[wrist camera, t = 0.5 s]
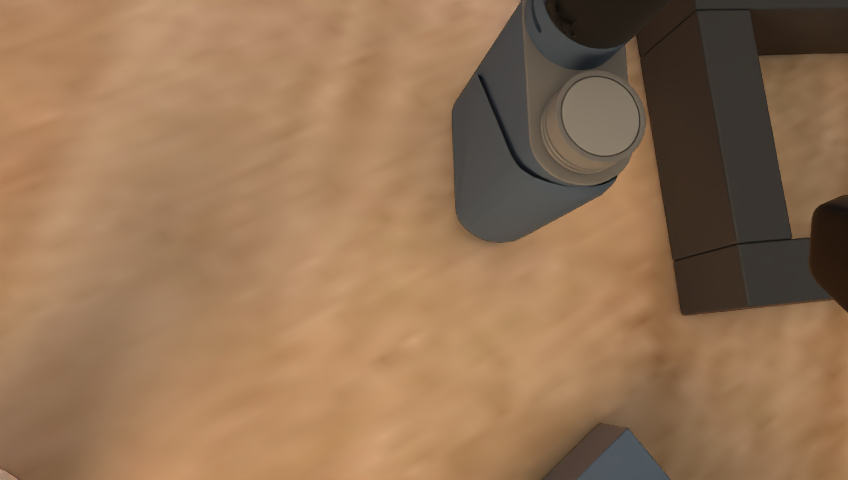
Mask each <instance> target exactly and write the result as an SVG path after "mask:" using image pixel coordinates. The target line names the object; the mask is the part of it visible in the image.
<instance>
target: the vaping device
mask: <svg viewBox="0 0 848 480" xmlns="http://www.w3.org/2000/svg"><path fill="white" fill-rule="evenodd" d="M671 1H672V0H522V1H521V2H520V4H519V5H518V7H517V8H516V10H515V12H514V13H513V15H512V16H511V18H510V19H509V21H508V22H507V24H506V25H505V27H504V28H503V30H502V31H501V33H500V34H499V36H498V38H497V39H496V41H495V42H494V44H493V45H492V47H491V48H490V50H489V51H488V53H487V54H486V56H485V57H484V59H483V61H482V62H481V64H480V65H479V67H478V68H477V70H476V71H475V73H474V74H473V76H472V77H471V79H470V80H469V82H468V84H467V85H466V87H465V88H464V90H463V91H462V93H461V94H460V96H459V97H458V99H457V100H456V102H455V104H454V106H453V110H452V130H453V155H454V180H455V205H456V213H457V216H458V219H459V221H460V222H461V224H462V225H463V226H464V227H465V228H466V229H467V230H468V231H469V232H471V233H472V234H474V235H475V236H476V237H479V238H481V239H483V240H486V241H491V242H498V243H503V242H510V241H515V240H517V239H520V238H522V237H524V236H526V235H528V234H530V233H532V232H533V231H535V230H537V229H539V228H541V227H543V226H545V225H546V224H548V223H550V222H552V221H554V220H556V219H558V218H559V217H561V216H563V215H565V214H567V213H569V212H571V211H572V210H574V209H576V208H578V207H580V206H582V205H584V204H585V203H587V202H589V201H591V200H593V199H595V198H597V197H598V196H600V195H602V194H603V193H604V192H605V191H606V190H607V189H608V188H609V187H610V186H611V185H612V184H613V183H614V182H615V180H616V178H617V176H618V174H619V173H620V172H621V171H622V170H623V169H624V168H625V167H626V165H627V164H628V162H629V160H630V158H631V155H632V152H633V151H634V150H635V149H636V148H637V147H638V145H639V144H640V142H641V140H642V138H643V135H644V132H645V126H646V117H645V111H644V107H643V104H642V102H641V100H640V98H639V96H638V94H637V93H636V91H635V90H634V89H633V88H632V87H631V86H630V85H629V84H628V74H627V62H626V50H625V44H626V43H627V42H628V41H629V40H630V39H631V38H633V37H634V36H635V35H636V34H637V33H638V32H639V31H640V30H641V29H642V28H643V27H644V26H645V25H646V24H647V23H648V22H650V21H651V20H652V19H653V18H654V17H655V16H656V15H657V14H658V13H659V12H660V11H661V10H662V9H663V8H664V7H666V6H667V5H668V4H669V3H670V2H671ZM643 24H645V25H643Z"/></svg>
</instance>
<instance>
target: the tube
mask: <svg viewBox="0 0 848 480" xmlns="http://www.w3.org/2000/svg"><path fill="white" fill-rule="evenodd" d="M0 480H18V479H17V478H15V477H14V476H12V475H11V474H9V473H8V472H6V471H4V470H1V469H0Z"/></svg>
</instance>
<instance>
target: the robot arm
mask: <svg viewBox="0 0 848 480" xmlns="http://www.w3.org/2000/svg"><path fill="white" fill-rule="evenodd" d="M809 269H810V272H811V274H812V276H813V278H814V279H815V281H816V282H817V283H818V284H819V285H820V286H821V287H822V288H823V289H824V290H825V291H826V292H827V293H828V294H829V295H830V296H831V297H832V298H833V299H834V300H835V301H836V302H837V303H838V304H839V305H840V306H841V307H842V308H843V309H844V310H846V311H847V312H848V195H843V196H840V197H838V198H835V199H833V200H831V201H828V202H826V203H824V204H821V205H820V206H819V207H817V208H816V210H815V211H814V213H813V216H812V222H811V235H810V248H809Z"/></svg>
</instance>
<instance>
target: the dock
mask: <svg viewBox="0 0 848 480" xmlns="http://www.w3.org/2000/svg"><path fill="white" fill-rule="evenodd" d="M643 25H645V24H643ZM637 39H638V45H639V51H640V56H641V57H642V58H641V65H642V71H643V77H644V83H645V89H646V96H647V102H648V108H649V114H650V121H651V127H652V133H653V139H654V145H655V152H656V158H657V164H658V170H659V177H660V183H661V189H662V195H663V201H664V208H665V214H666V220H667V226H668V233H669V239H670V245H671V251H672V257H673V260H676V261H674V269H675V276H676V282H677V288H678V294H679V300H680V307H681V313H682V315H684V316H686V315H695V314H704V313H714V312H723V311H732V310H742V309H751V308H761V307H770V306H779V305H789V304H798V303H808V302H817V301H826V300H834V299H833V298H832V297H831V296H830V295H829V294H828V293H827V292H826V291H825V290H824V289H823V288H822V287H821V286H820V285H819V284H818V283H817V282H816V281H815V279H814V278H813V276H812V274H811V272H810V269H809V248H810V238H798V239H791V238H792V234H791V229H790V224H789V218H788V213H787V208H786V202H785V197H784V192H783V186H782V181H781V176H780V170H779V165H778V160H777V154H776V149H775V143H774V138H773V133H772V127H771V122H770V117H769V111H768V106H767V101H766V95H765V90H764V85H763V79H762V74H761V69H760V63H759V58H758V54H795V53H835V52H848V0H672V1H671V2H670V3H669V4H668V5H667V6H666V7H664V8H663V9H662V10H661V11H660V12H659V13H658V14H657V15H656V16H655V17H654V18H653V19H652V20H651V21H650V22H648V23H647V24H646V25H645V26H644V27H643V28H642V29H641V30H640V31H639V32H638V33H637Z"/></svg>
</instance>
